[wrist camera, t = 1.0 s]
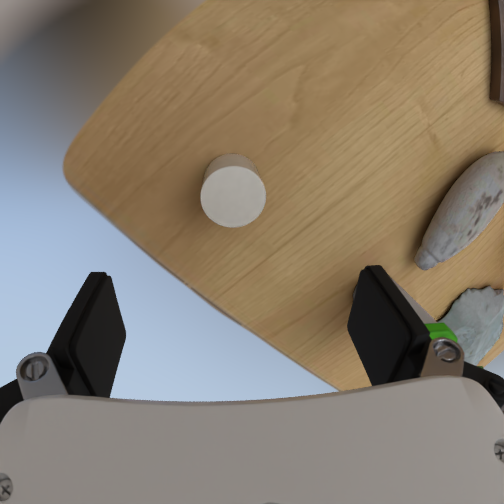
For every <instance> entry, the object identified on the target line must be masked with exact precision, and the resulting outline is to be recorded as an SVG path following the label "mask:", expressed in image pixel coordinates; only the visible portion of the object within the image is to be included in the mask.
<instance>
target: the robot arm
mask: <svg viewBox="0 0 504 504" xmlns="http://www.w3.org/2000/svg"><path fill="white" fill-rule="evenodd" d="M347 328H348V332H349V335H350V337H351V339H352V341H353V343H354V346H355V348H356V350H357V352H358V354H359V357H360V359H361V361H362V363H363V366H364V368H365V370H366V373H367V375H368V377H369V379H370V382H371V384H372V386H370V387H364V388H358V389H352V390H346V391H339V392H332V393H325V394H317V395H308V396H298V397H288V398H277V399H263V400H246V401H216V402H177V401H150V400H149V401H148V400H132V399H117V398H116V399H115V398H110V394H111V390H112V386H113V382H114V378H115V375H116V371H117V367H118V364H119V360H120V357H121V353H122V349H123V346H124V343H125V339H126V330H125V327H124V323H123V320H122V316H121V313H120V309H119V305H118V302H117V298H116V294H115V290H114V286H113V283H112V278H111V276H107V274H106V273H105V272H91V273H90V274H89V275H88V277H87V279H86V280H85V282H84V284H83V286H82V287H81V289H80V291H79V292H78V294H77V296H76V298H75V300H74V301H73V303H72V305H71V307H70V308H69V310H68V312H67V314H66V316H65V317H64V319H63V321H62V323H61V325H60V327H59V329H58V331H57V333H56V335H55V337H54V339H53V340H52V342H51V345H50V347H49V349H48V351H47V353H42V352H35V353H32V354H29V355H27V356H26V357H24V358H23V359H22V360H21V361H20V363H19V364H18V366H17V369H16V375H17V379H15V380H14V381H12V382H10V383H8V384H6V385H4V386H3V387H1V388H0V504H504V379H503V378H502V377H500V376H499V375H496V374H494V373H492V372H489V371H487V370H484V369H482V368H480V367H477V366H475V365H473V364H470V363H468V362H466V361H464V358H465V357H464V351H463V349H462V348H461V346H460V345H459V344H458V343H456V342H455V341H454V340H451V339H449V338H445V337H438V338H435V339H433V340H432V339H431V337H430V336H429V335H430V331H429V330H428V329H427V327H426V326H425V324H424V323H423V321H422V320H421V319H420V317H419V316H418V314H417V313H416V312H415V310H414V309H413V307H412V306H411V305H410V303H409V302H408V301H407V299H406V298H405V296H404V295H403V294H402V292H401V291H400V290H399V288H398V287H397V286H396V284H395V283H394V282H393V280H392V279H391V278H390V277H389V275H388V274H387V273H386V271H385V270H384V269H383V268H382V266H380V265H372V266H366V267H365V268H364V270H361V272H360V275H359V280H358V284H357V288H356V292H355V296H354V300H353V304H352V308H351V312H350V316H349V320H348V324H347Z"/></svg>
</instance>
